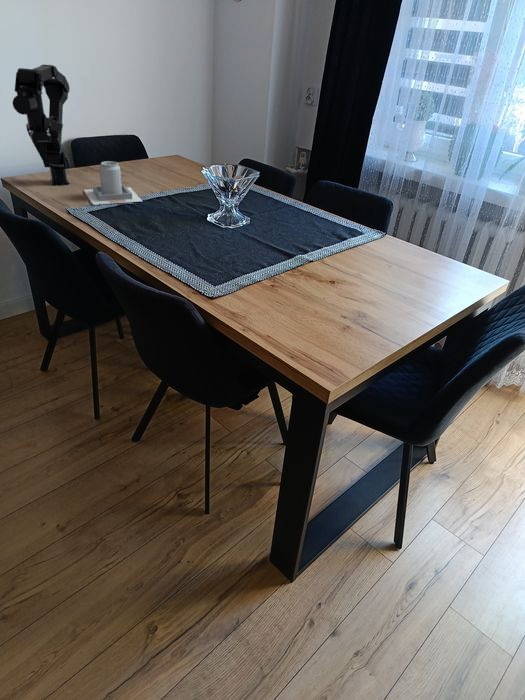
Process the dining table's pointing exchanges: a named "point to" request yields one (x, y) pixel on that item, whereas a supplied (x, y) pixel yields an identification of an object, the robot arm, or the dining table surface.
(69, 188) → the dining table surface
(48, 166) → the robot arm
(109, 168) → the can
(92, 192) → the collar plate
